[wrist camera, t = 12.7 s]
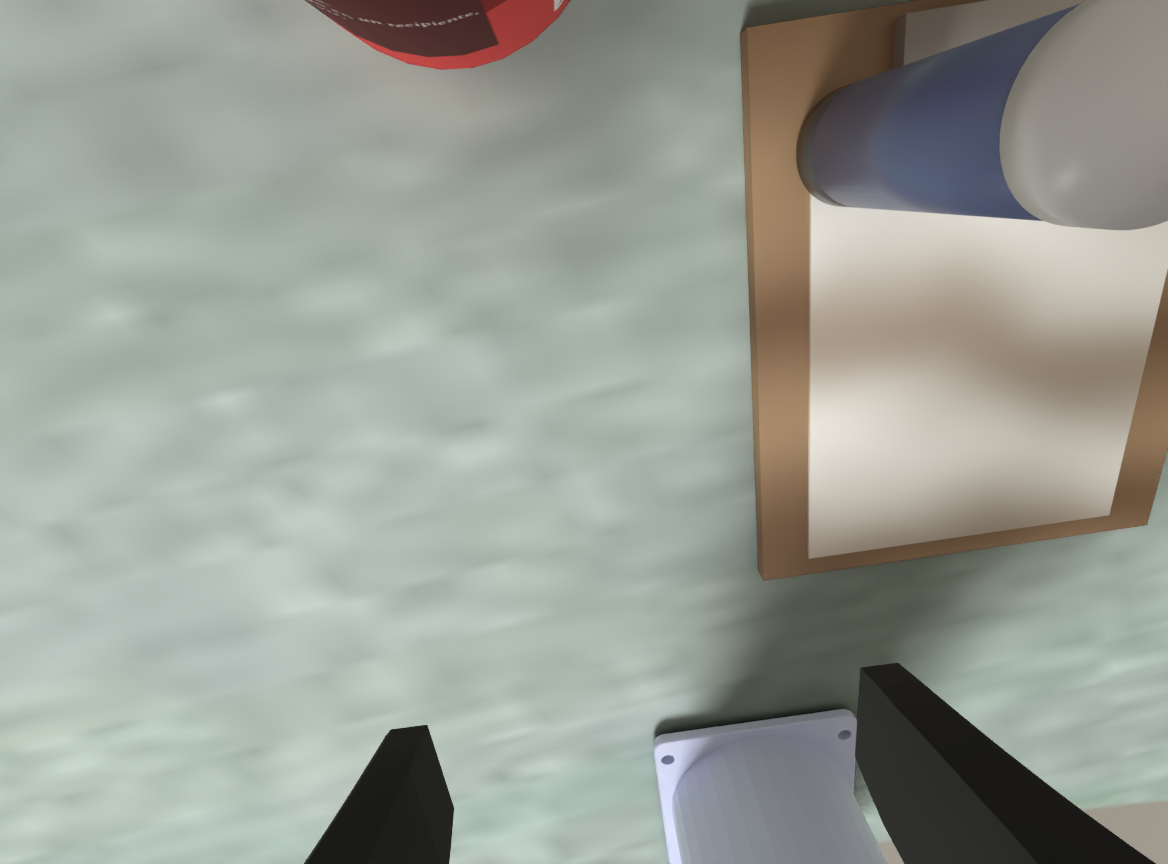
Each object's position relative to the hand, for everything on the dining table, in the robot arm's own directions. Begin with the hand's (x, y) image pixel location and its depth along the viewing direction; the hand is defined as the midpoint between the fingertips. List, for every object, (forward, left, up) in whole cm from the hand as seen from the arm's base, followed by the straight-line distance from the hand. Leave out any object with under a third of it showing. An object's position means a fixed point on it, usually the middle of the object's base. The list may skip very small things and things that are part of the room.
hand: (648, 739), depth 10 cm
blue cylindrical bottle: (+9, -7, -9) cm, 14 cm away
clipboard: (+3, -11, -10) cm, 15 cm away
